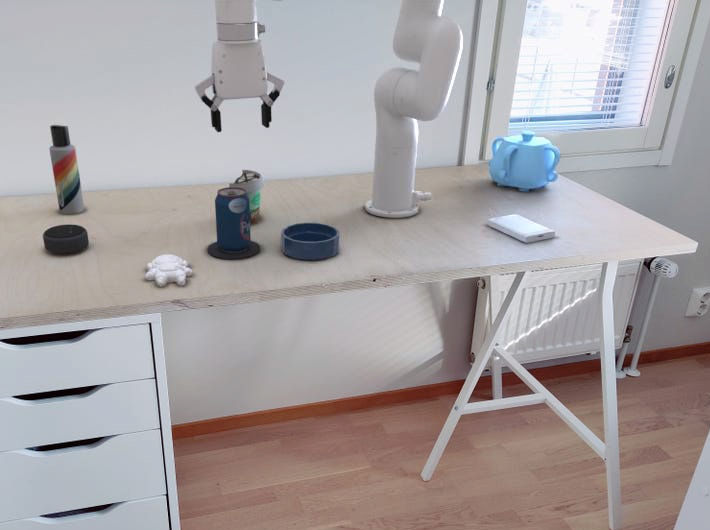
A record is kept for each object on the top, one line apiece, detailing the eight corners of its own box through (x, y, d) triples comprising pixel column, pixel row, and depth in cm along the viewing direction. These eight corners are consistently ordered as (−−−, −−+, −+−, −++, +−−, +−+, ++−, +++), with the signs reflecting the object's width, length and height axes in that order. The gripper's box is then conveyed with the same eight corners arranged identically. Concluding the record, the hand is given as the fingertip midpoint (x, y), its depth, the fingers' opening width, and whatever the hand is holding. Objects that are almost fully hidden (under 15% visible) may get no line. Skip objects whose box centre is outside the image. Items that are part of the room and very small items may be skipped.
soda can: (251, 253, 145) (249, 196, 138) (217, 254, 144) (213, 196, 138) (250, 241, 150) (248, 185, 144) (217, 242, 150) (214, 186, 144)
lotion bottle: (54, 213, 168) (39, 126, 158) (69, 206, 172) (56, 121, 162) (74, 216, 166) (61, 128, 156) (89, 208, 171) (76, 123, 161)
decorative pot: (490, 192, 182) (498, 138, 175) (485, 174, 196) (492, 124, 189) (556, 195, 180) (566, 141, 173) (546, 177, 193) (556, 126, 186)
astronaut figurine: (144, 288, 131) (142, 273, 129) (148, 263, 141) (146, 249, 140) (192, 286, 132) (191, 271, 130) (192, 261, 142) (191, 247, 140)
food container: (257, 230, 158) (256, 185, 153) (230, 228, 159) (228, 184, 154) (269, 212, 168) (269, 170, 163) (244, 210, 169) (243, 168, 164)
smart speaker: (68, 259, 143) (64, 241, 141) (36, 251, 147) (32, 233, 145) (98, 245, 150) (95, 227, 148) (67, 238, 153) (64, 220, 151)
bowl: (327, 237, 154) (327, 220, 152) (346, 257, 144) (347, 238, 142) (274, 243, 151) (274, 225, 149) (291, 264, 141) (291, 245, 139)
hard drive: (487, 218, 159) (526, 236, 150) (516, 213, 162) (555, 230, 153) (486, 226, 160) (525, 243, 151) (515, 220, 163) (554, 237, 154)
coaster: (252, 238, 153) (252, 236, 153) (266, 256, 144) (266, 254, 144) (202, 243, 151) (202, 241, 150) (213, 262, 142) (213, 260, 141)
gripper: (276, 28, 136) (278, 120, 145) (187, 33, 131) (194, 128, 140) (288, 32, 130) (289, 128, 138) (195, 38, 125) (202, 136, 134)
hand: (242, 128), depth 139 cm, fingers open, 9 cm apart
